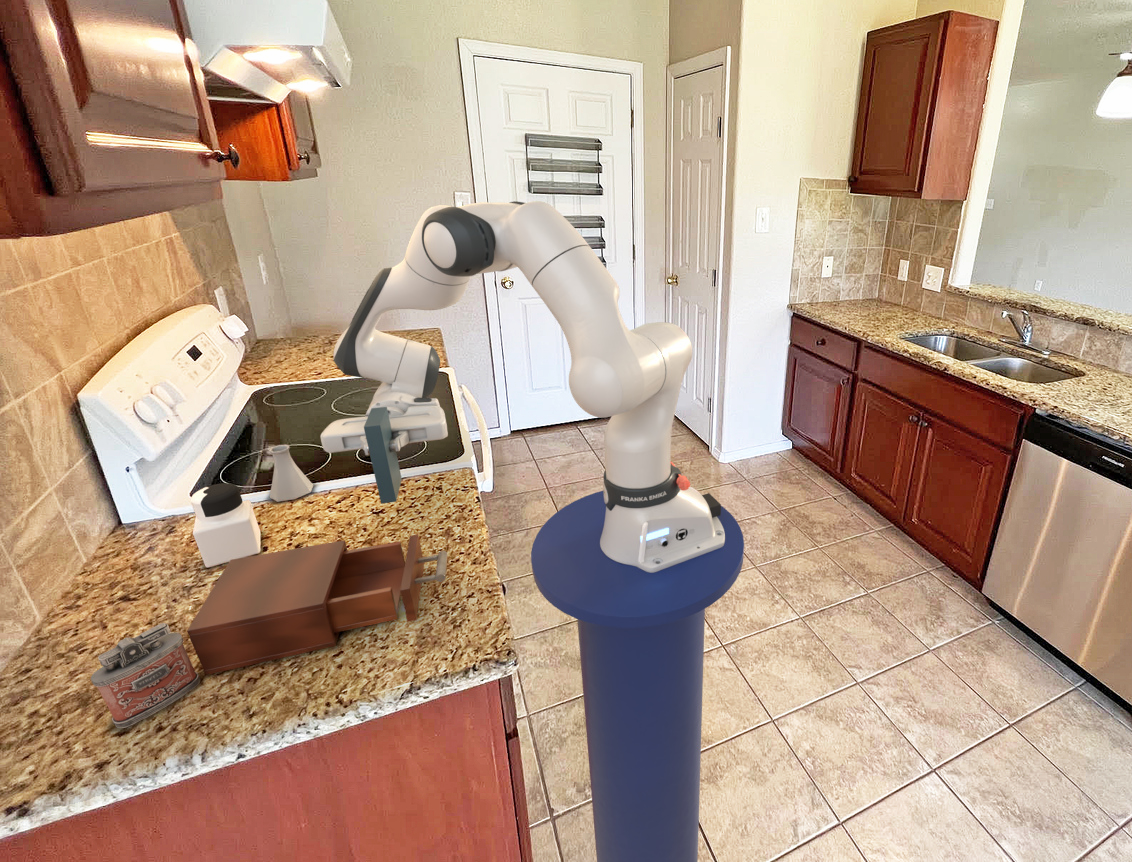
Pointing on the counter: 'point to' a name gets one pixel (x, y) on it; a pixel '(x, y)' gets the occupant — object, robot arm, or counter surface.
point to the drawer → (379, 584)
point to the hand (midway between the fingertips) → (381, 449)
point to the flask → (287, 476)
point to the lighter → (144, 675)
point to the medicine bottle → (224, 524)
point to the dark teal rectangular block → (383, 454)
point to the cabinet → (267, 608)
